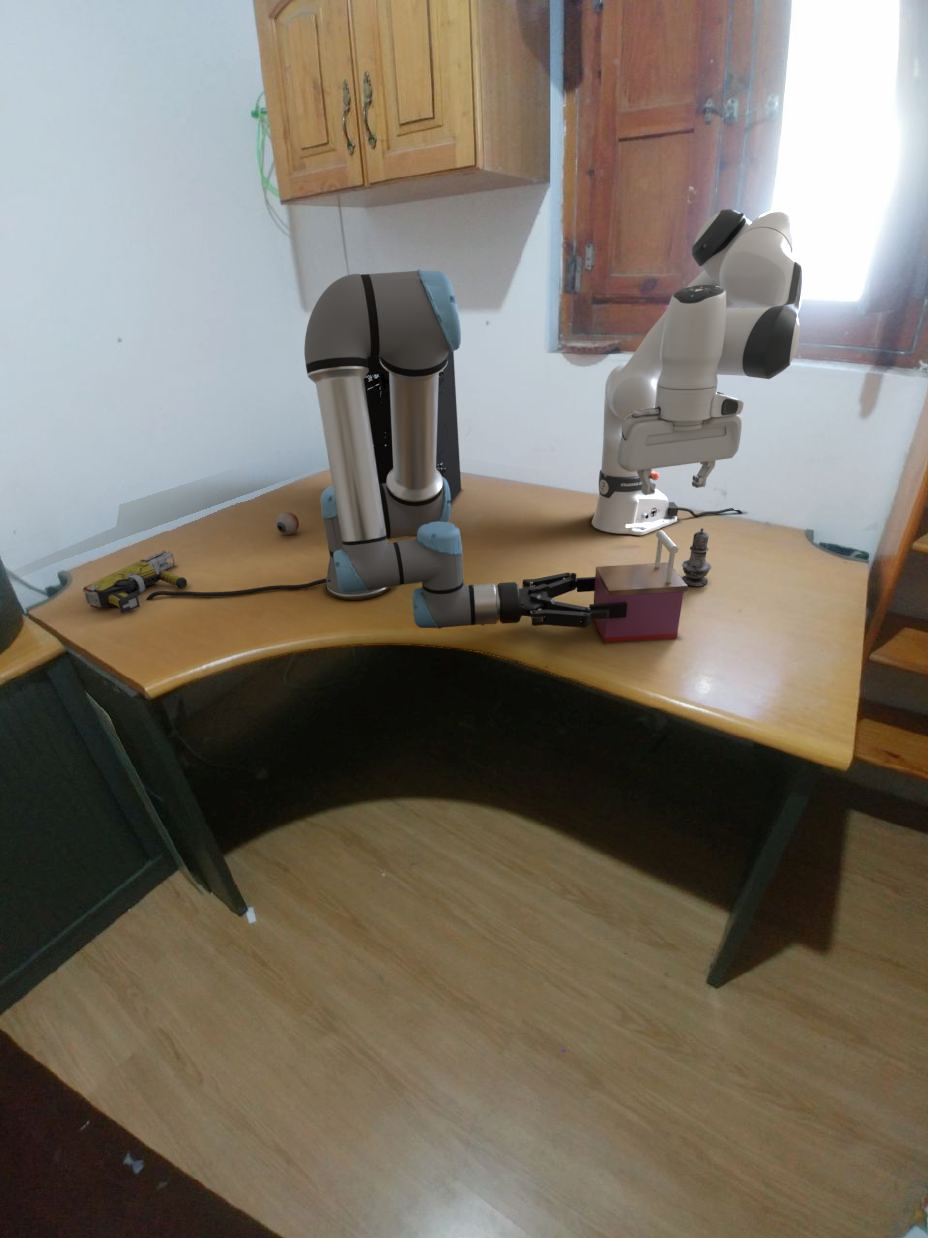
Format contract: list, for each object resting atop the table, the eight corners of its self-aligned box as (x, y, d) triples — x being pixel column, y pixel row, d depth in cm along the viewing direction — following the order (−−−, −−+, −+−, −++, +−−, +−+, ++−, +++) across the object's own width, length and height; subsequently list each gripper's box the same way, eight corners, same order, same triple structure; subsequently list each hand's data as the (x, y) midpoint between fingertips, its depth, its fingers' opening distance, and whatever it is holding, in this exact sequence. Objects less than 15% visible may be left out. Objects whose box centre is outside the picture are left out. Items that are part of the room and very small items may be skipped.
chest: (659, 611, 119) (665, 567, 114) (676, 638, 110) (683, 591, 105) (592, 615, 119) (595, 572, 114) (604, 642, 110) (608, 596, 105)
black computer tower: (428, 534, 159) (412, 349, 137) (356, 531, 164) (329, 352, 141) (461, 489, 191) (452, 333, 168) (400, 488, 195) (384, 335, 173)
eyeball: (273, 537, 164) (268, 516, 161) (287, 528, 169) (282, 508, 166) (291, 539, 161) (286, 518, 158) (305, 530, 166) (301, 510, 163)
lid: (668, 567, 114) (673, 526, 110) (687, 591, 105) (693, 548, 101) (595, 572, 114) (598, 531, 110) (608, 596, 105) (611, 553, 101)
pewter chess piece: (710, 587, 126) (720, 533, 120) (681, 586, 127) (688, 532, 121) (706, 574, 131) (715, 522, 125) (678, 573, 132) (685, 522, 126)
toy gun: (211, 559, 145) (160, 548, 149) (132, 601, 125) (76, 587, 129) (214, 576, 147) (164, 565, 151) (137, 620, 127) (82, 606, 131)
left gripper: (493, 593, 122) (602, 586, 123) (504, 654, 103) (633, 645, 103) (492, 559, 119) (604, 552, 119) (503, 616, 99) (637, 607, 99)
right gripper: (633, 415, 90) (625, 504, 97) (753, 401, 94) (737, 487, 101) (614, 407, 95) (608, 492, 102) (728, 394, 99) (714, 477, 106)
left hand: (618, 595), depth 111 cm, fingers closed on chest, 10 cm apart
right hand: (673, 490), depth 101 cm, fingers open, 8 cm apart
